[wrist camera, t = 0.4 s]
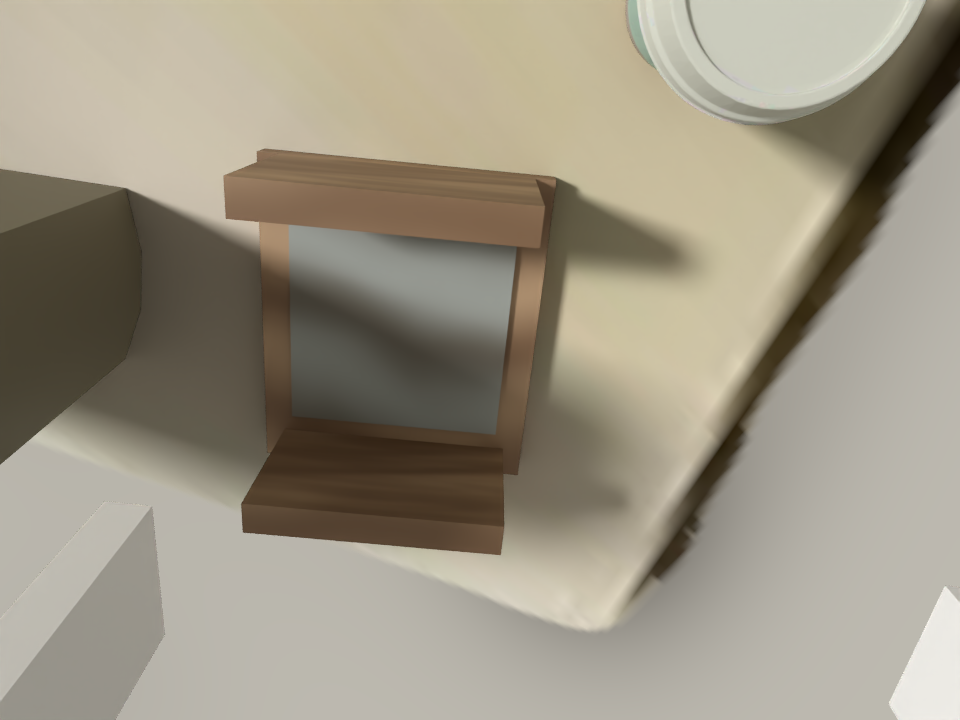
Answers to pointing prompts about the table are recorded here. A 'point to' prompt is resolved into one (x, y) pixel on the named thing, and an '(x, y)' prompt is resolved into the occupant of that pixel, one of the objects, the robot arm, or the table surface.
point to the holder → (392, 344)
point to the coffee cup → (767, 51)
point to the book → (61, 295)
